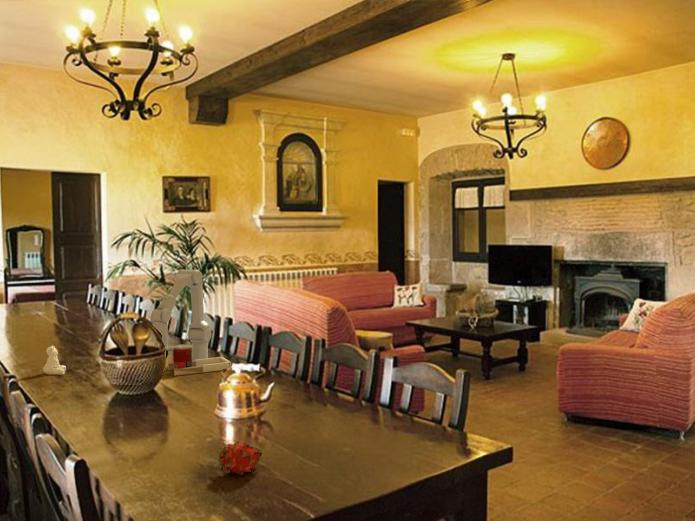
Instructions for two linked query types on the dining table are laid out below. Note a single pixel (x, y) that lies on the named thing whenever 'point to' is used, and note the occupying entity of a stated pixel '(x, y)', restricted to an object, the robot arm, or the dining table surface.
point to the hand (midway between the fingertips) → (161, 368)
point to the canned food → (182, 357)
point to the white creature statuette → (53, 363)
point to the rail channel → (186, 369)
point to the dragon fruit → (239, 458)
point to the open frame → (213, 364)
